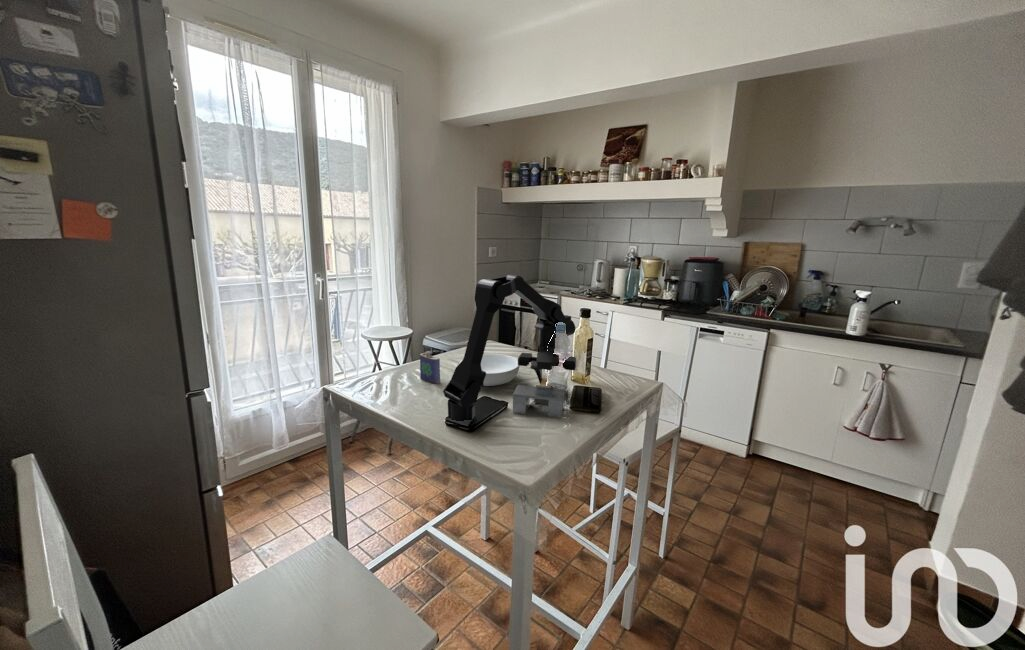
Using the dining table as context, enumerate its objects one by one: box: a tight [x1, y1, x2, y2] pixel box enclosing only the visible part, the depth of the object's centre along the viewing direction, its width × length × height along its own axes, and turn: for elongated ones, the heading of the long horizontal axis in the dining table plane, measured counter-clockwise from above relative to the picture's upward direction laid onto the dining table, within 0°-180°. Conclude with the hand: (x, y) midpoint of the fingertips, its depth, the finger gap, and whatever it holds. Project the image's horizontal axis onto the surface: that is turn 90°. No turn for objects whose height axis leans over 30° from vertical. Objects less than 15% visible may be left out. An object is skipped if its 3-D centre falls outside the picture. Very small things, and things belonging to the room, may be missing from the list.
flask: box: [419, 350, 441, 385], centre depth 139 cm, size 9×3×11 cm, turn 51°
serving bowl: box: [458, 353, 520, 387], centre depth 140 cm, size 21×21×7 cm
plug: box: [533, 376, 552, 405], centre depth 130 cm, size 4×14×4 cm, turn 168°
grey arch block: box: [512, 384, 565, 419], centre depth 118 cm, size 14×7×6 cm, turn 78°
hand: (546, 385), depth 134 cm, fingers closed on plug, 3 cm apart
